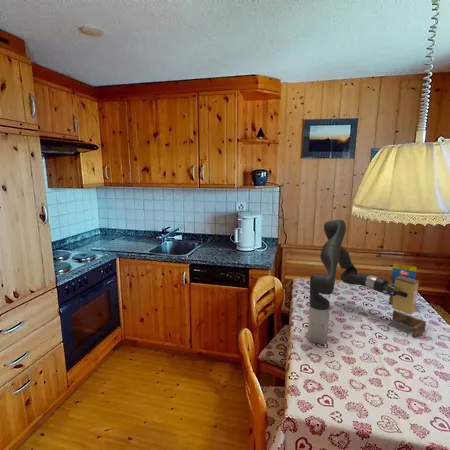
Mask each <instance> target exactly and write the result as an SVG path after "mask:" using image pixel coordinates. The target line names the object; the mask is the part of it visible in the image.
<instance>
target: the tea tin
mask: <svg viewBox="0 0 450 450" xmlns="http://www.w3.org/2000/svg"><path fill="white" fill-rule="evenodd" d="M419 282H420V281H419V279H411V278H407V277H404V276H398V277H396V278H395V286H394V288H395V289H396V290H398V291H401V292H405V293H407V297H406V298H405V297H402V296H397V295H396V296H393V304H391V309H394V310H395V311H398V312H401V313H404V314H407V315H409V316H412V314H414V313H415V312H416V304H417V297H418V289H419Z"/></svg>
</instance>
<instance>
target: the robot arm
mask: <svg viewBox="0 0 450 450" xmlns="http://www.w3.org/2000/svg"><path fill="white" fill-rule="evenodd" d="M346 225H347V224H346V222H345V221H344V220H343V219H336V220H329V221H326V222H325V223H324V225H323V231H324V234H325V236H326V238H327V241H326V242H325V243H324V244H323V246H322V247H321V250H320V255H319V257H320V261H321V263H322V265H323V266H324V267H325V269H326V271H327V273H326V274H325V273H321V272H320V273H318V272H313V273H311V274H310V278H309V307H308V308H309V309H308V327H307V330H308V331H307V339H308V341H309V342H310V343H315V344H318V345H323V344H325V343H327V342H328V334H329V319H330V306H331V305H330V303H331V302H330V300H329V299H327V298H326V297H324V296H323V295H327V296H328V295H332V294H333V292H334V289H335V283H336V276H337V270H338V269H337V268H338V265H339V267H340V268H341V269H343V270H344V271H343V272H342V273H341V274H340V279H341V281H342V282H343V283H345V284H347V285H355V286H362V287H365V288H368V289H370V290H373V291H376V292H378V293H381V294H384V295H389V296H390V295H392V296H396V295H397V296H402V297H405V298H406V297H407V293H405V292H401V291H398V290H396V289H395V288H394V286H395V284H391V283H389V281H388V280H387V279H386V278H383V277H378V276H376V275H371V274H370V275H369V274H367V273H363V272H362V273H358V270H357V268H356V266H355V264H354V263H353V262H352V259H351V257H350V253H349V251H347V249H346V248H345V247H344V246H343V245H342V244H343V241H344V239H345V236H346V233H347V232H346V231H347V226H346ZM321 294H323V295H321Z"/></svg>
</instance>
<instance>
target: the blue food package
mask: <svg viewBox="0 0 450 450" xmlns="http://www.w3.org/2000/svg"><path fill="white" fill-rule="evenodd" d="M417 270H418V267H417V266H410V265H404V264H398V263H393V266H392V272H391V273H392V274H391V281H390V282H391V283H390V284H395V278H396V277H398V276H404V277H407V278H411V279H415V280H417V279H416V277H417ZM388 301H389V302H388V304H389V305H392V304H393V296H392V295H389V300H388Z"/></svg>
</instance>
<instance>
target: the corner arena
mask: <svg viewBox="0 0 450 450" xmlns="http://www.w3.org/2000/svg"><path fill="white" fill-rule="evenodd" d="M393 320H394V321H397V322H400V323H402V324H405V325H407V326H410V327H413V331H412V332H411V333H412V334H411V337H413V338H414V339H416V338H417V337H419V336H420V335H421V334H423V333H424V332H425V331H426V326H427V321H425V320H423V319H420V318H418V317H415V316H412V315H410V314H407V313H404V312H402V311H399V310H396V309H394V310H393V312H392V321H393Z"/></svg>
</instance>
